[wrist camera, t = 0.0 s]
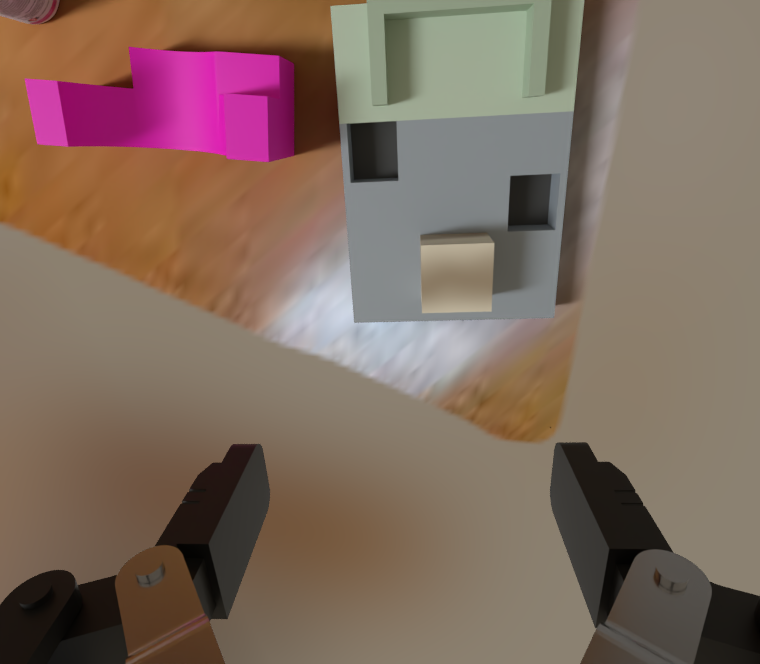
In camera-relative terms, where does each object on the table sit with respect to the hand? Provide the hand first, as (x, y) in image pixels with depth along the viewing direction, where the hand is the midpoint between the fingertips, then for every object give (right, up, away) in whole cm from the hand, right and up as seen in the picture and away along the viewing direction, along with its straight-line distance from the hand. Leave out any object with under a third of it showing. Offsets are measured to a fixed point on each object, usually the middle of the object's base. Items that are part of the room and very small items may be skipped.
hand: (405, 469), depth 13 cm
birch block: (+5, +9, +24) cm, 26 cm away
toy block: (-15, +21, +24) cm, 35 cm away
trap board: (+5, +16, +24) cm, 29 cm away
